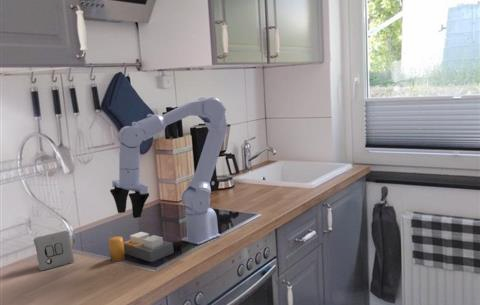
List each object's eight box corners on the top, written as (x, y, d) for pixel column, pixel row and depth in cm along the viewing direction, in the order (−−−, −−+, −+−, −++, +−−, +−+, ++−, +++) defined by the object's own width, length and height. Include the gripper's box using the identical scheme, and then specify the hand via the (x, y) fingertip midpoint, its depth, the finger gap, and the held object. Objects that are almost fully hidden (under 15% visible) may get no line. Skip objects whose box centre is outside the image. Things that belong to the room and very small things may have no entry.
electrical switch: (40, 272, 125) (34, 239, 125) (36, 268, 130) (31, 236, 129) (75, 262, 130) (69, 230, 130) (70, 259, 135) (65, 228, 134)
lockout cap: (120, 255, 133) (117, 235, 132) (128, 257, 130) (125, 237, 130) (108, 259, 130) (105, 239, 129) (116, 262, 128) (113, 242, 127)
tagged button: (142, 241, 138) (141, 231, 137) (150, 243, 135) (149, 233, 135) (131, 245, 135) (129, 235, 134) (139, 247, 132) (137, 237, 132)
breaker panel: (144, 244, 141) (143, 234, 140) (173, 252, 131) (172, 242, 131) (122, 252, 135) (121, 242, 134) (151, 262, 126) (150, 251, 125)
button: (155, 244, 134) (154, 235, 133) (163, 247, 131) (162, 237, 130) (144, 249, 131) (142, 239, 130) (152, 251, 128) (151, 241, 127)
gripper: (103, 166, 132) (103, 212, 133) (132, 172, 122) (132, 221, 124) (124, 164, 137) (123, 209, 138) (154, 170, 128) (153, 217, 129)
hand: (129, 214), depth 131 cm, fingers open, 7 cm apart
